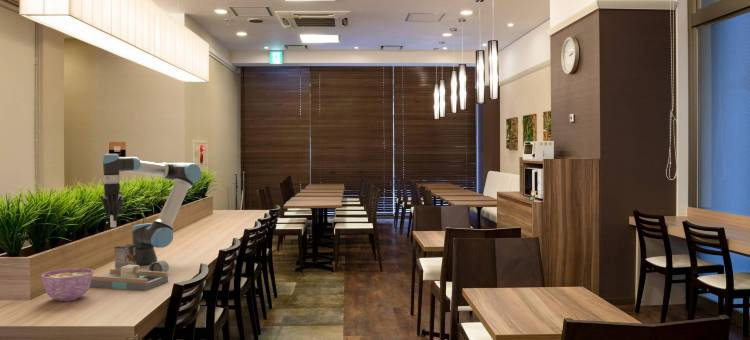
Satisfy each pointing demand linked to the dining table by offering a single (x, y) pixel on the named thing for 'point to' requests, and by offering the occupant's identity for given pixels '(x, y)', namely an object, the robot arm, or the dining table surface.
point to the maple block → (130, 271)
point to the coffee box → (125, 255)
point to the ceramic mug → (159, 266)
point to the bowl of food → (67, 283)
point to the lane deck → (129, 280)
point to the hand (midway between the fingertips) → (113, 226)
